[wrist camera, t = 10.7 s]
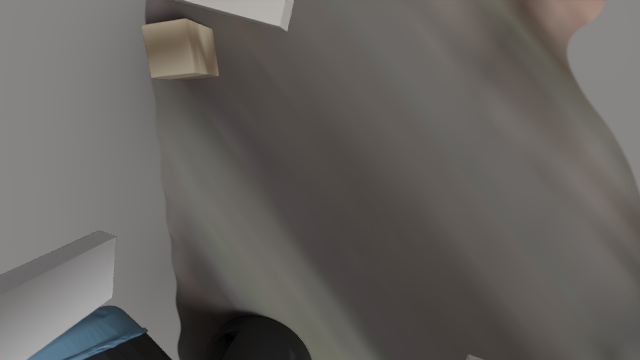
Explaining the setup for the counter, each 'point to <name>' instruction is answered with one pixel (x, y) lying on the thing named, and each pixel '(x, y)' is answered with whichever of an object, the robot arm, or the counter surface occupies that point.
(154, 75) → the maple block
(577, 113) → the counter surface
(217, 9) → the tile
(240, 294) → the counter surface
